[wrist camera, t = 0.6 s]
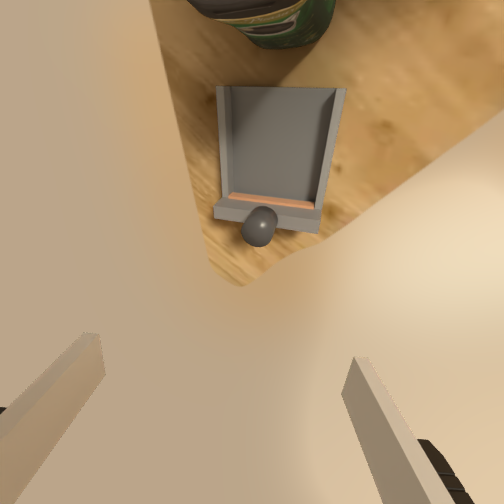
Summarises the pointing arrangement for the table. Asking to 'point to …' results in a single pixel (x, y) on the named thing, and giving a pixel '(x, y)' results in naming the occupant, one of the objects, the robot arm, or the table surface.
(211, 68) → the table surface
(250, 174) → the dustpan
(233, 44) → the table surface
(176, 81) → the table surface
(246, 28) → the coffee jar
